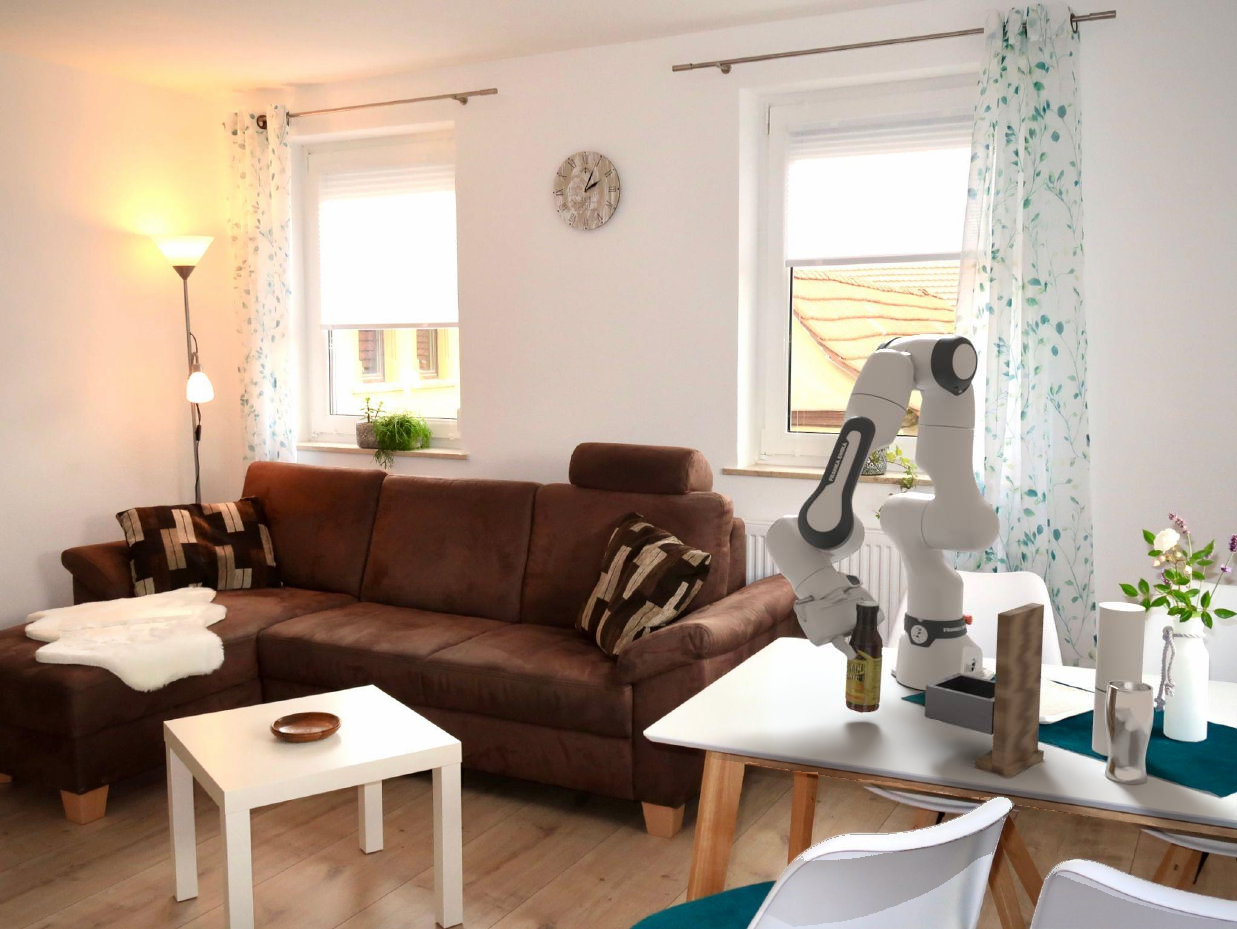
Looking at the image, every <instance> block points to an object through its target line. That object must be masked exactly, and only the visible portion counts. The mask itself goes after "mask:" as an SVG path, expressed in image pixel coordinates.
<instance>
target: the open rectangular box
mask: <svg viewBox="0 0 1237 929" xmlns="http://www.w3.org/2000/svg"><path fill="white" fill-rule="evenodd" d="M924 694H925V696H924V718H926V719H930V720H933V721H937V722H941V723H944V724H948V725H952V726H955V727H960V728H962V729H963V728H964V729H967V730H971V731H974V732H978V733H983V734H987V735H989V736H993V725H994V700H995V680H992V679H990V680H987V679H983V678H979V677H974V676H970V675H965V674H961V673H957V674H955V675H952V676H949V677H947V678H944V679H941V680H939V681H936V682H934V683H931V684H928V685H926V690H925V693H924Z"/></svg>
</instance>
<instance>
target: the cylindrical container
mask: <svg viewBox="0 0 1237 929" xmlns="http://www.w3.org/2000/svg"><path fill="white" fill-rule="evenodd" d="M1145 623H1146V607H1144V606H1143V605H1140V604H1135V603H1130V602H1123V601H1104V602H1100V603H1098V617H1097V634H1096V635H1097V636H1096V637H1097V638H1096V656H1095V657H1096V659H1095V674H1094V675H1095V677H1094V700H1093V720H1092V722H1093V724H1092V742H1091V749H1092V751H1094V752H1095V753H1097V754H1099V755H1101V756H1106V757H1108V754H1109V747H1108V739H1107V732H1106V725H1105V701H1106V693H1107V686H1108V682H1109V681H1112V680H1132V681H1138V682H1142V683H1143V669H1144V668H1143V666H1144V665H1143V664H1144V648H1145V646H1144V645H1145V644H1144V643H1145V626H1146V624H1145Z"/></svg>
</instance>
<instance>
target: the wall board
mask: <svg viewBox="0 0 1237 929" xmlns="http://www.w3.org/2000/svg"><path fill="white" fill-rule="evenodd" d="M1044 614H1045V604H1043V603H1036V602H1030V603H1028V604H1024V605H1022V606H1021V605H1020V606H1018V607H1015V608H1013V609H1009V610H1004V611H1002V612H1000V613H997V625H996V626H997V627H996V649H995V650H996V652H995V654H996V655H995V656H996V657H995V673H994V679H995V680H994V681H995V700H994V725H993V735H992V750H990V751H988V752H985V753H984V754H981V755H979V756H978V757H976V758H974V762H973V763H974V764H973V768H974V769H977V770H980V771H983V772H987V773H990V774H994V775H998V776H1000V777H1004V778H1008V779H1010V778H1013V777H1014V776H1016V775H1018V774H1019V773H1021V772H1024V771H1025V770H1028V769H1029V768H1031V767H1032V766H1035V765H1037V764H1038V763H1040V762H1041V761H1044V757H1045V756H1044V754H1045V751H1044V750H1042V749H1039V729H1040V711H1041V710H1040V709H1041V708H1040V706H1041V689H1042V687H1041V686H1042V663H1043V662H1042V660H1043V638H1044V637H1043V636H1044V619H1045V618H1044Z"/></svg>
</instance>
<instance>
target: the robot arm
mask: <svg viewBox="0 0 1237 929" xmlns="http://www.w3.org/2000/svg"><path fill="white" fill-rule="evenodd" d="M978 361H979V359H978V354H977V351H976V348H975V346H974V344H973V343H972V342H971V340H969V338H966V337H965V336H961V335H959V334H958V335H957V334H953V333H948V334H935V333H928V334H927V333H925V334H919V335H912V336H910V335H909V336H906V337H900V336H899V337H898V336H897V337H892V338H889V339H887V340H884V341H883V342H882V343H880V344H879V346H878V347H877V348H876V350H875V351H874V352H872V353H871V354H870V355H869V356H868V357H867V358H866V360H865V362H864V364H863V366H862V368H861V370H860V372H859V373H858V376H857V379H856V380H855V383H854V385H853V388H852V391H851V393H850V395H849V396H850V397H849V398H848V401H847V404H846V405H847V406H846V409H845V413H844V416H843V420H842V424H841V427H840V431H839V435H838V438H837V439H836V442H835V445H834V446H833V450H832V451H831V454H830V457H829V458H828V459H829V460H828V463H827V465H826V467H825V470H824V472H823V475H822V477H821V480H820V482H819V484H818V486H817V487H816V489H815V490H814V491H813V493H812V494H811V495H809V497H808V498H807V499H806V500H805V501H804V503H803V505H802V506H801V508H800V509H799V511H798V515H792V514H786V515H783V516H782V517H781V518H778V519H777V520H776V521H775V522H774V523H772V525H770V527H769V529H768V531H767V532H766V535H765V539H764V545H765V548H766V550H767V553H768V555H769V557H770V558H771V560H772V562H773V563H774V565H775V566H776V568H777V569H778V571H779V572H780V574H781V575H782V576H783V577H784V578H785V579H786V580H788V581H789V583H790V585H791V587H792V590H793V593H795V595H796V596H797V599H796V600H794V604H793V611H794V613H795V614H796V616H797V620H798V623H799V625H800V627H801V629H802V630H803V632H804V634H805V636H806V637H807V639H808V640H809V642H810V643H811V644H812V645H814V646H815V647H819V648H820V647H822V646H824V645H829V644H832V645H833V647H834V649H837V650H838V651H839V652H841V653H843V654H844V656H845V657H846V658H848V659H849V660H854V659H856V658H857V657H858V656H859V655H860V654H859V652H858V651H857V649H856V647H852V646H850V645H849V642H848V641H846V639H847V638H849V637H850V638H851V636H852V633H853V631H854V628H855V626H856V617H857V611H856V604H857V602H859V601H872V602H876V603H878V601H877V600H876V599H875V597H874V596H873V595H872V593H871V592H870V591H869V590H868V589H866V588H865V587H863V585H864V582H863V580H862V578H861V577H860V576H858V575H855V574H850V573H845V572H842V571H838V570H837V569H836V568H835V566H834V564H836V563H839V562H840V561H842V560H844V559H846V558H848V557H850V556H852V555H854V554H856V552H857V551H859V549H860V548H861V547H862V545H863V543H864V540H865V527H864V525H863V524H864V523H862V521H861V519H860V518H859V517H858V515H857V514H856V513H855V512H854V507H853V498H854V494H855V491H856V488H857V486H858V484H859V481H860V478H861V476H862V473H863V470H864V468H865V465H866V463H867V461H868V460H869V457H870V456H871V455H872V454H873V453H874V452H876V451H878V450H879V451H880V450H883V449H886V448H888V447H889V446H891V444H893V442H894V441H895V439H896V438H897V435H898V434H899V432H900V430H901V428H902V426H903V423H904V420H905V417H906V414H907V411H908V408H909V404H910V400H911V396H912V391H917V392H918V391H919V392H920V395H921V404H920V408H919V415H918V422H917V434H916V445H915V454H914V457H915V458H914V459H915V463H916V466H917V467H918V468H919V470H920V471H921V472H923V474H925V475H927V476H928V477H929V479H930V481H931V483H932V486H933V489H934V494H933V493H923V492H915V491H914V492H913V491H909V492H900V493H895V494H892V495H889V496H888V497H887V498H886V499H885V501H883V504H882V506H881V508H880V511H879V524H880V528H881V531H882V532H883V534H884V535H885V536H886V537H887V538H888V539H889V540H890V541H891V542H892V544H893V545H894V546H895V548H896V550H897V552H898V554H899V556H900V558H901V561H902V564H903V568H904V573H905V579H906V611H905V612H904V617H903V630H904V633H903V634H902V635H900V636H899V639H898V647H897V655H896V665H895V667H892V668H891V670H890V671H891V672H890V673H891V675H893V676H894V677H895V678H896V681H897V682H898V683H900V684H901V685H904V686H906V687H909V688H913V689H916V690H917V689H918V690H922V691H926V685H928V684H931V683H934V682H936V681H939V680H941V679H944V678H947V677H949V676H952V675H955V674H957V673H961V674H965V675H970V676H974V677H979V678H983V679H987V680H992V679H993V678H995V672H994V671H993V670H992V669H989V668H987V667H983V659H984V658H983V650H982V648H981V646H980V645H979V644H977V643H976V642H975V641H974V640H973V639H972V638H971V637H970V636H969V635H968V634H967V633H968V629H967V626H971V625H972V624H973V622H974V621H973V620H974V619H973V616H972V614H971V615H970V614H964V613H963V611H964V610H963V609H964V589H965V588H964V580H963V577H962V575H961V574H960V573H959V572H958V571H957V570H956V569H955V568H953V567H952V566H951V565H950V564H949V563H948V561H947V558H946V557H945V554H944V551H949V552H955V553H979V552H985V551H986V552H987V550H989V549H991V547H992V546H993V545H994V544H995V542H996V541H997V538H998V536H999V533H1000V525H1001V524H1000V519H999V515H998V514H997V511H996V510H995V508H994V507H993V506H992V505H991V504H990V503H989V502H988V501H987V500H986V498H985V497H984V496H983V494H982V493H981V491H980V488H979V487H978V484H977V481H976V480H977V479H976V478H975V473H974V464H973V459H974V458H973V456H974V455H973V453H974V452H973V451H974V437H975V424H976V406H975V405H976V402H975V392H974V385H973V381H974V378H975V376H976V373H977V370H978V363H979V362H978ZM885 619H886V617H885V612H884V611H883V608H882V607H881V606H880V605H879V611H878V613H877V627H878V626H879V625H881V624H882V623H883V622H884V621H885ZM883 648H884V644H883V643H882V649H883Z"/></svg>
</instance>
